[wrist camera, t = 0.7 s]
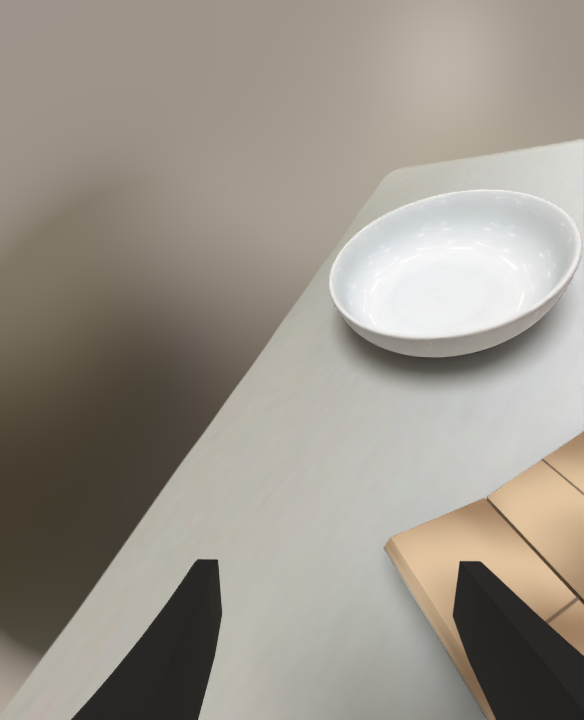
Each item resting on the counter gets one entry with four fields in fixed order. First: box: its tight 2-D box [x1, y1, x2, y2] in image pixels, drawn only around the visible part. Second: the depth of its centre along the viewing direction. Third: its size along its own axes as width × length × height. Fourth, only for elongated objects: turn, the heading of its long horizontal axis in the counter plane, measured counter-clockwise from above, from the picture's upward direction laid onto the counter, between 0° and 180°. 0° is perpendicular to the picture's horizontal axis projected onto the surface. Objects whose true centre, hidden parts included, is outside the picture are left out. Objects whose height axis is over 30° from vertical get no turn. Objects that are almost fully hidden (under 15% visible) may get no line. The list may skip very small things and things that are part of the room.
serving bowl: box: [329, 189, 582, 357], centre depth 32 cm, size 21×21×7 cm
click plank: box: [384, 498, 584, 720], centre depth 15 cm, size 14×8×1 cm
